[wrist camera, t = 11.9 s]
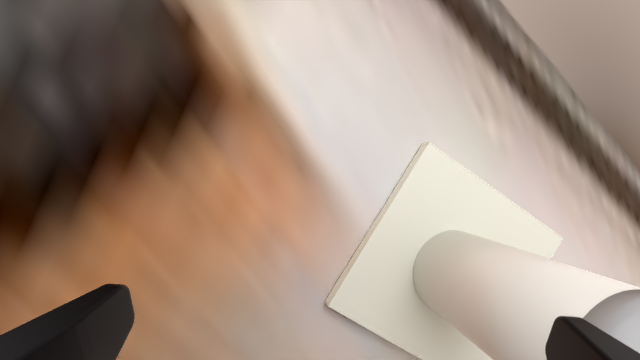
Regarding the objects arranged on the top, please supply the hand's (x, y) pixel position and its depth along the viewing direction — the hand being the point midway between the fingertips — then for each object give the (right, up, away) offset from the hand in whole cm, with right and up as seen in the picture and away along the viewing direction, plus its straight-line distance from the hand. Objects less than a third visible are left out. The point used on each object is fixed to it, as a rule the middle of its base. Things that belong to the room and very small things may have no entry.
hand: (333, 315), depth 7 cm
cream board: (+7, -2, +14) cm, 16 cm away
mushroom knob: (+8, -3, +13) cm, 15 cm away
